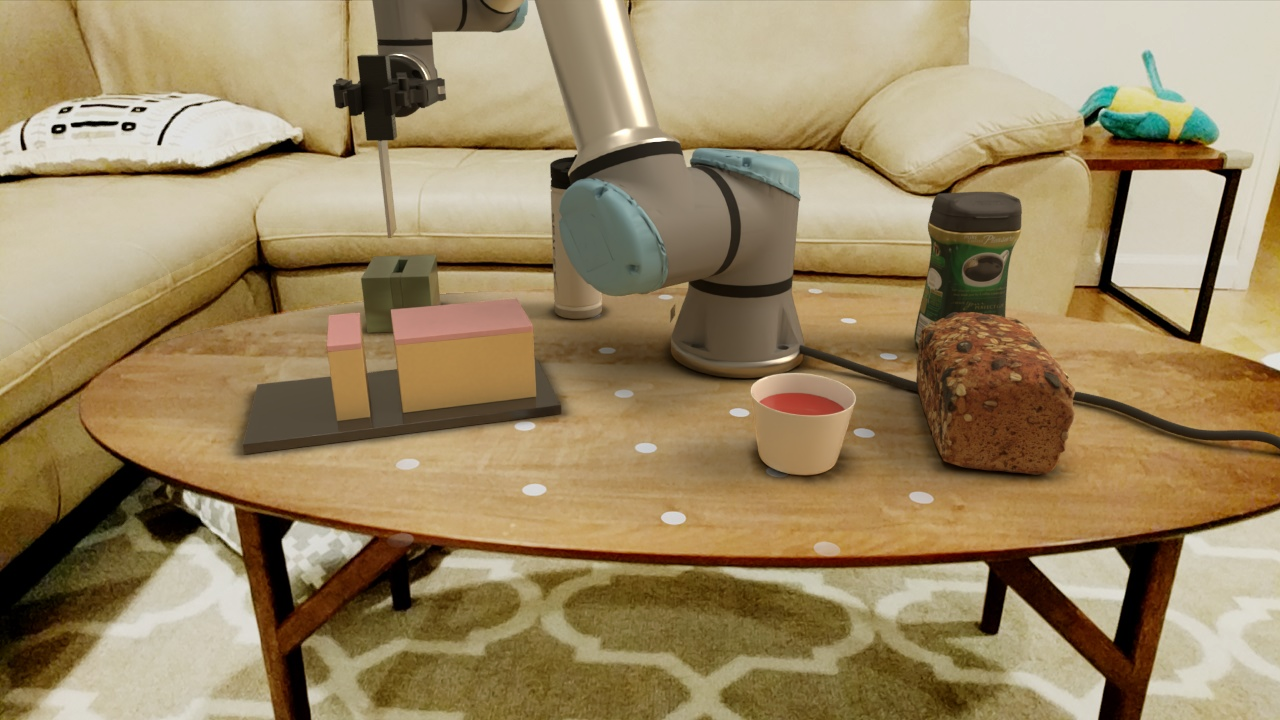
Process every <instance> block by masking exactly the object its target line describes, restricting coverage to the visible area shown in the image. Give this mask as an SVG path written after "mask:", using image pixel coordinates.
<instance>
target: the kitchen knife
mask: <svg viewBox="0 0 1280 720" xmlns="http://www.w3.org/2000/svg"><path fill="white" fill-rule="evenodd" d="M356 59H357V67H358V76H359V81H360V86H361V94H362V103H363V112H362V114H363V119H364V120H363V121H364V128H365V138H366V141H367V142H371V141H373V142H375V141H377V150H378V159H379V166H380V167H379V168H380V178H381V186H382V188H381V189H382V195H383V204H384V205H383V206H384V214H385V222H386V232H387V239H392V238H393V236H394V235H395V233H396V231H397V221H396V220H397V219H396V211H395V203H394V192H393V182H392V173H391V163H390V155H389V153H390V152H389V145H388V141H395V140H396V139H397V138H398V131H397V122H396V121H397V120H396V117H395V114H394V115H393V116H385V108H384V98H383V89H384V88H386V87H387V86H390V85H391V84H392V80H391V70H390V60H389V55H378V54H360V55H356Z"/></svg>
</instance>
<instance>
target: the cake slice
mask: <svg viewBox="0 0 1280 720" xmlns="http://www.w3.org/2000/svg"><path fill="white" fill-rule="evenodd" d="M326 351H327V358H328V365H329V366H328V367H329V372H330V376H331V381H332V388H333V395H334V402H335V409H336V416H337V421H342V420H350V419H359V418H367V417H370V402H369V383H368V374H367V373H368V366H367V358H366V350H365V343H364V334H363V326H362V319H361V312H350V313H338V314H329V315H328V321H327V335H326Z"/></svg>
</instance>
